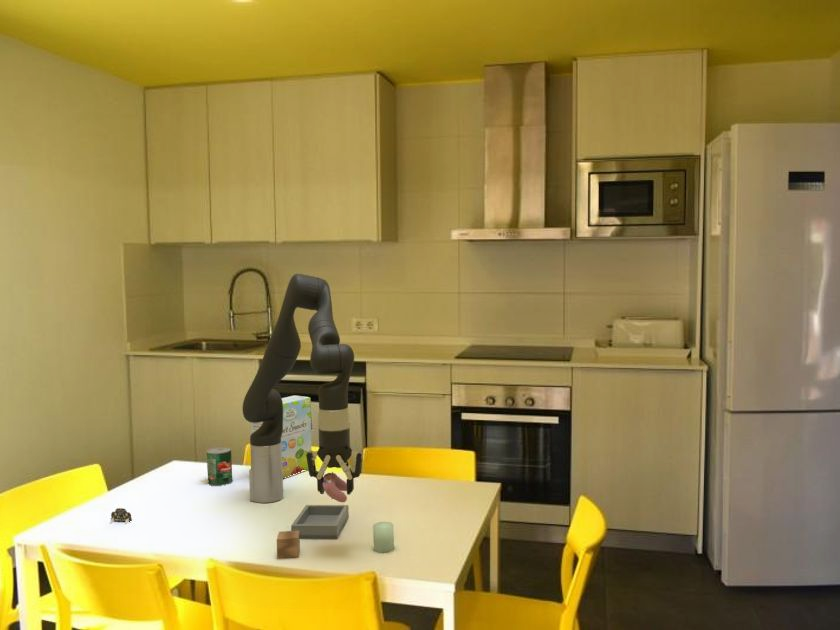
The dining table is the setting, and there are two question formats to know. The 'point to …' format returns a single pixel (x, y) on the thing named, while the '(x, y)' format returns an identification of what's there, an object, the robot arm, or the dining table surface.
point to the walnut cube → (288, 544)
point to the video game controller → (335, 487)
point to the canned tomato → (219, 466)
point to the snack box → (294, 434)
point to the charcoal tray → (321, 521)
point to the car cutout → (121, 516)
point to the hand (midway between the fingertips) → (335, 493)
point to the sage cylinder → (383, 537)
